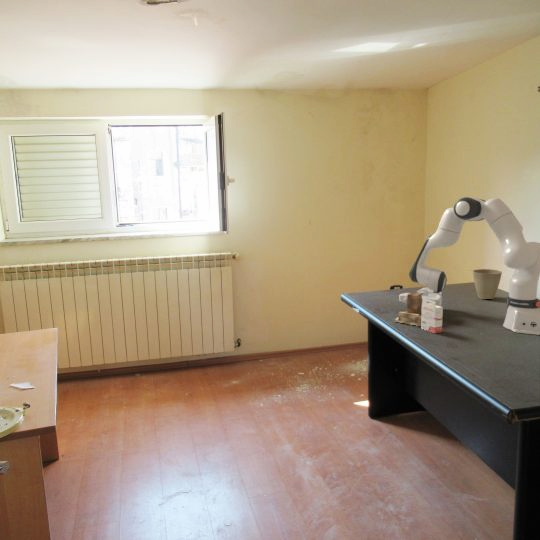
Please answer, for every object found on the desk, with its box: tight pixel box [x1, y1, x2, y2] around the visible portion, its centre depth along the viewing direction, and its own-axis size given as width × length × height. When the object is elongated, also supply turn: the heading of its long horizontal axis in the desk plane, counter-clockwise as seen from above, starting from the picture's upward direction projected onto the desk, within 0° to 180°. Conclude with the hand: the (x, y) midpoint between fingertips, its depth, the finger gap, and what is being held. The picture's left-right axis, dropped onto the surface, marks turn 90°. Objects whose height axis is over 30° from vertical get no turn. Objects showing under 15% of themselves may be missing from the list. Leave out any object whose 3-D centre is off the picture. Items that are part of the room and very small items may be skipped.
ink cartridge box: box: [420, 298, 444, 334], centre depth 214 cm, size 9×5×15 cm, turn 27°
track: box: [393, 310, 422, 327], centre depth 230 cm, size 14×15×6 cm
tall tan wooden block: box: [406, 291, 422, 315], centre depth 230 cm, size 5×7×12 cm, turn 143°
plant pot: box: [472, 268, 502, 300], centre depth 268 cm, size 15×15×16 cm
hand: (414, 302), depth 229 cm, fingers open, 8 cm apart
